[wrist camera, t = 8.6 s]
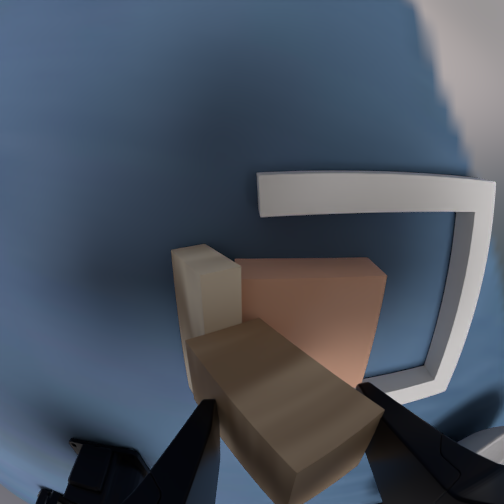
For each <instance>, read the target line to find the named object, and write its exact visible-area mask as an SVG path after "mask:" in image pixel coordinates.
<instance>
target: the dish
mask: <svg viewBox="0 0 504 504" xmlns="http://www.w3.org/2000/svg"><path fill="white" fill-rule="evenodd" d="M457 443H458V444H460V445H462V446H463V447H465V448H467V449H469V450H471V451H473V452H475V453H477V454H479V455H481V456H483V457H485V458H487V459H489V460H492V461H494V462H496V463H498V464H501V463H502V462H503V461H504V426H499V427H493V428H489V429H485V430H482V431H479V432H476V433H474V434H472V435H470V436H468V437H466V438H464V439H462V440H460V441H459V442H457Z"/></svg>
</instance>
